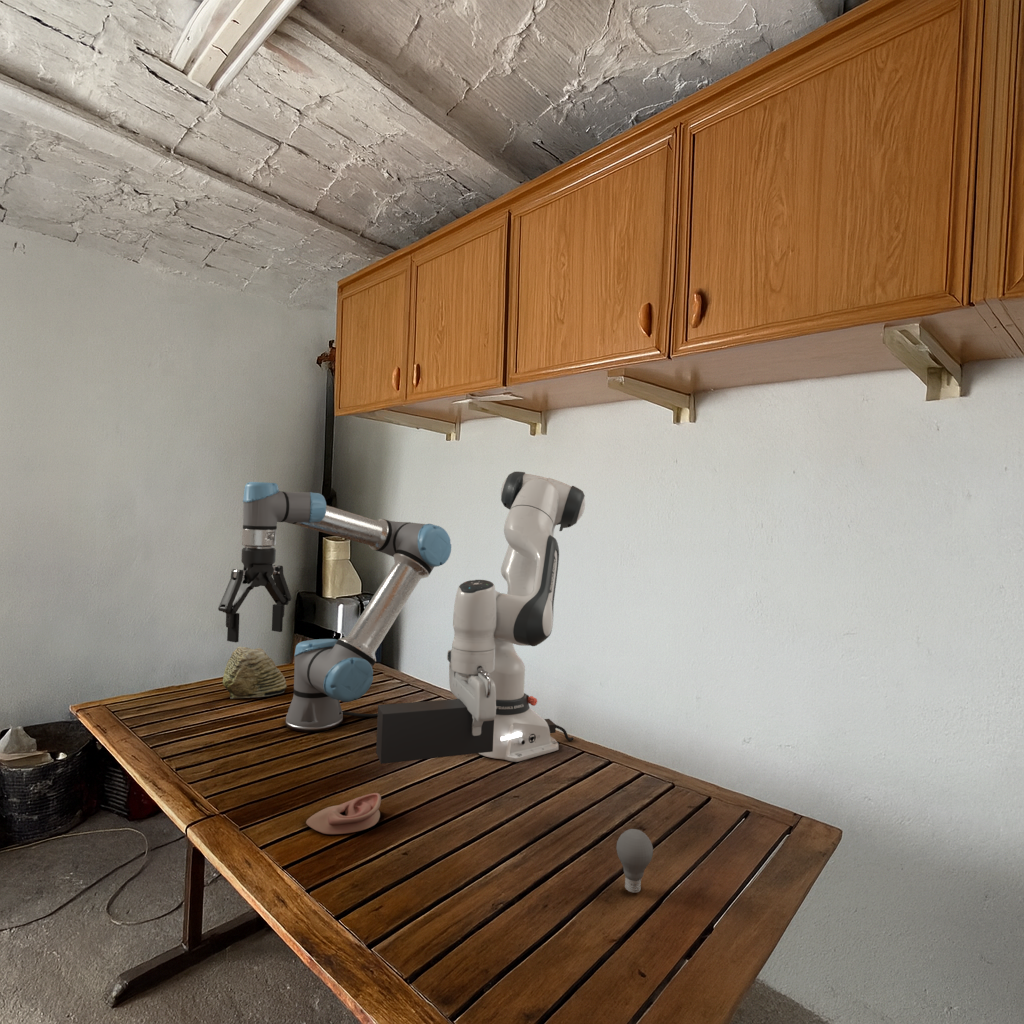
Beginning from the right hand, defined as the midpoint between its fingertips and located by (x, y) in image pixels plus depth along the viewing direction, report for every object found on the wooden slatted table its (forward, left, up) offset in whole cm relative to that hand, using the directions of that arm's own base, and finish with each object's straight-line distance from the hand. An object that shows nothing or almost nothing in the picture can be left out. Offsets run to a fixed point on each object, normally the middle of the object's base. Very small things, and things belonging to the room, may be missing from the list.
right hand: (470, 728), depth 129 cm
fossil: (+32, -94, -18) cm, 100 cm away
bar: (+7, -1, -4) cm, 8 cm away
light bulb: (-15, +35, -18) cm, 42 cm away
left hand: (+37, -44, +12) cm, 58 cm away
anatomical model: (+24, -6, -18) cm, 30 cm away
